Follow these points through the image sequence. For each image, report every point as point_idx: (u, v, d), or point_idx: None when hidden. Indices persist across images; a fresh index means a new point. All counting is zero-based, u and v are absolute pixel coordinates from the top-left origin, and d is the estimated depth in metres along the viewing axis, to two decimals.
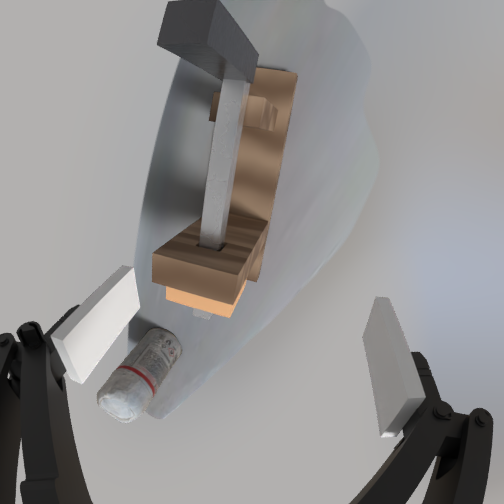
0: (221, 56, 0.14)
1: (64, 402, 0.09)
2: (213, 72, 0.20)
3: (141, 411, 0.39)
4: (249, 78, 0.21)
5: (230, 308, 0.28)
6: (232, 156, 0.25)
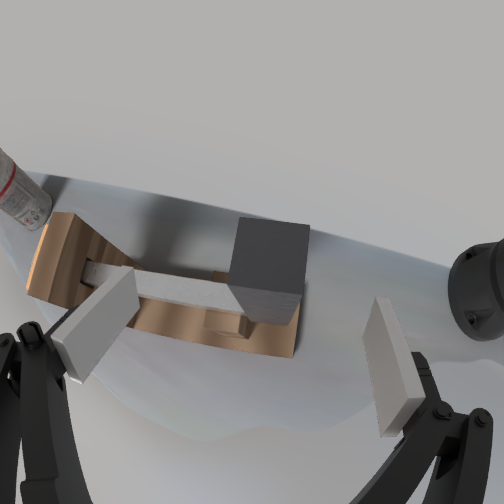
0: (236, 297, 0.14)
1: (64, 402, 0.09)
2: None
3: None
4: (250, 318, 0.21)
5: None
6: (165, 299, 0.23)
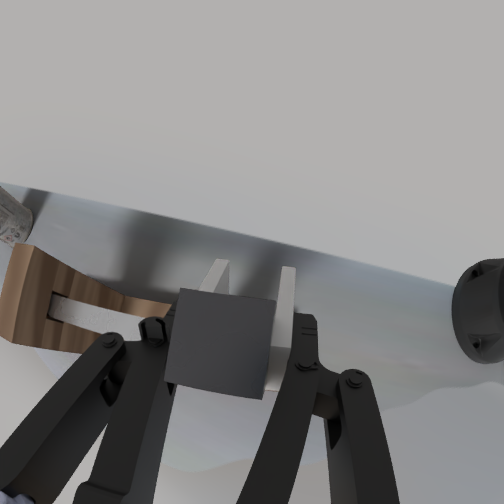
0: None
1: (168, 407, 0.10)
2: None
3: None
4: None
5: None
6: None
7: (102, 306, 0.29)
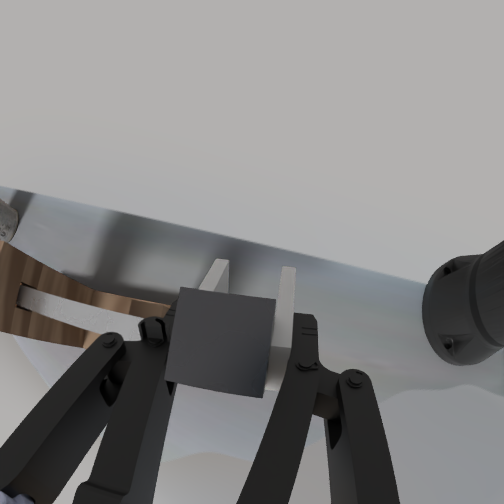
0: None
1: (168, 407, 0.10)
2: None
3: None
4: None
5: None
6: None
7: (70, 299, 0.30)
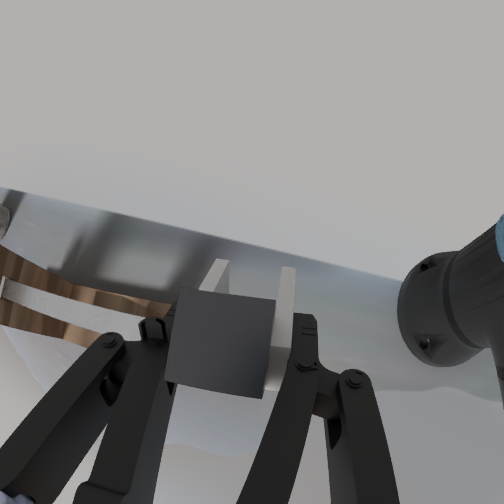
0: None
1: (168, 407, 0.10)
2: None
3: None
4: None
5: None
6: None
7: (51, 292, 0.30)
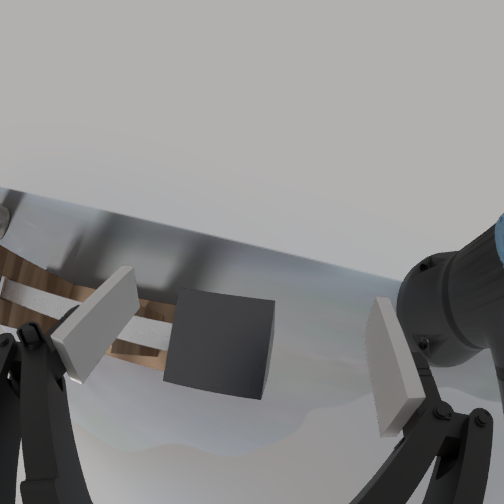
0: None
1: (64, 402, 0.09)
2: None
3: None
4: None
5: None
6: (132, 342, 0.19)
7: (50, 292, 0.30)
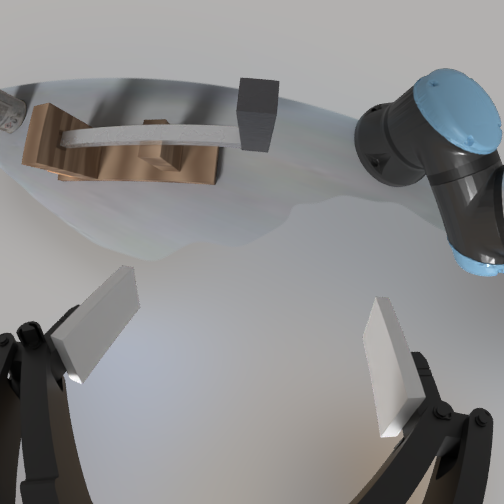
0: (238, 122, 0.23)
1: (64, 402, 0.09)
2: None
3: None
4: (242, 146, 0.30)
5: None
6: (180, 140, 0.31)
7: None
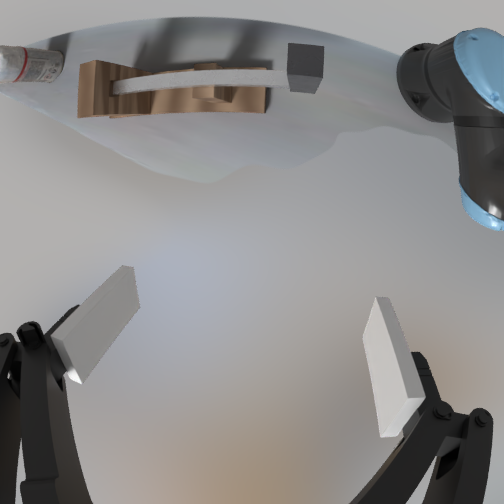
0: (287, 78, 0.23)
1: (64, 402, 0.09)
2: None
3: None
4: (291, 89, 0.30)
5: None
6: (232, 84, 0.31)
7: None
